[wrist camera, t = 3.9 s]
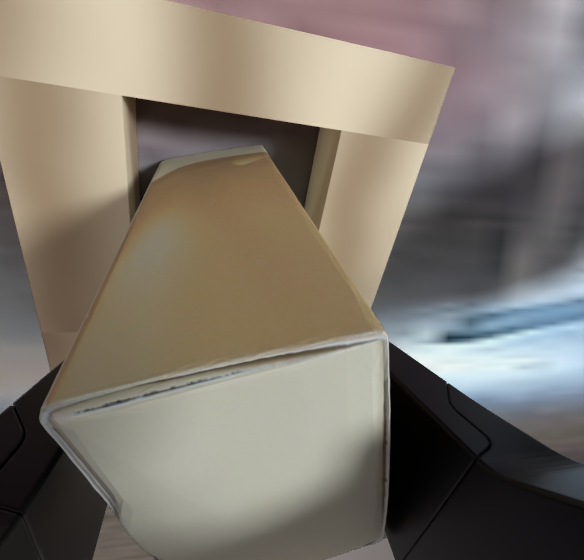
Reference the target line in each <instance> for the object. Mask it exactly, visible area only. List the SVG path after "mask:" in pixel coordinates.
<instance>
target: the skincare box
mask: <svg viewBox="0 0 584 560" xmlns="http://www.w3.org/2000/svg"><path fill="white" fill-rule="evenodd" d="M39 420H40V423H41V424H42V426H43V427H44V428H45V430H46V431H47V432H48V433H49V434H50V435H51V436H52V437H53V438H54V440H55V441H56V442H57V443H58V444H59V445H60V446H61V448H62V449H63V450H64V451H65V452H66V454H67V455H68V457H69V458H70V459H71V461H72V462H73V463H74V464H75V465H76V466H77V467H78V469H79V470H80V471H81V472H82V473H83V474H84V476H85V477H86V478H87V479H88V481H89V482H90V483H91V485H92V486H93V488H94V489H95V490H96V491H97V492H98V493H99V494H100V495H101V496H102V497H103V499H104V500H105V501H106V502H107V504H108V505H109V506H110V508H111V509H112V511H113V512H114V513H115V515H116V516H117V518H118V519H119V521H120V522H121V524H122V525H123V527H124V529H125V530H126V532H127V533H128V534H129V536H130V537H131V538H132V539H133V541H134V542H135V543H137V544H138V545H139V546H140V547H141V548H142V549H143V550H144V551H146V552H147V553H148V554H150V555H151V556H152V558H153V559H154V560H325V559H328V558H332V557H335V556H337V555H341V554H344V553H347V552H349V551H352V550H356V549H359V548H361V547H364V546H368V545H372V544H376V543H378V542H380V541H382V539H383V537H384V529H385V525H386V516H387V506H388V496H389V470H390V375H389V337H388V334H387V332H386V331H385V330H384V328H383V327H382V325H381V324H380V322H379V321H378V319H377V318H376V316H375V314H374V313H373V311H372V310H371V308H370V307H369V305H368V304H367V303H366V301H365V300H364V298H363V297H362V295H361V294H360V293H359V291H358V290H357V288H356V287H355V285H354V283H353V282H352V280H351V279H350V277H349V276H348V274H347V273H346V271H345V270H344V268H343V267H342V265H341V264H340V262H339V261H338V259H337V258H336V256H335V254H334V253H333V251H332V250H331V248H330V247H329V245H328V244H327V243H326V241H325V239H324V238H323V236H322V235H321V233H320V232H319V231H318V229H317V228H316V226H315V224H314V223H313V221H312V220H311V218H310V217H309V216H308V214H307V213H306V211H305V210H304V208H303V207H302V205H301V204H300V202H299V201H298V199H297V198H296V196H295V194H294V193H293V191H292V190H291V188H290V187H289V185H288V184H287V182H286V181H285V179H284V178H283V176H282V175H281V173H280V172H279V170H278V169H277V167H276V166H275V164H274V163H273V161H272V160H271V158H270V157H269V155H268V153H267V151H266V150H265V149H264V147H263V146H262V145H253V146H246V147H238V148H231V149H225V150H218V151H212V152H206V153H200V154H194V155H188V156H183V157H177V158H172V159H167V160H163V161H162V162H160V164H159V166H158V168H157V170H156V172H155V174H154V176H153V178H152V180H151V183H150V185H149V186H148V189H147V191H146V193H145V195H144V197H143V199H142V201H141V203H140V205H139V207H138V209H137V211H136V213H135V215H134V217H133V219H132V221H131V223H130V226H129V228H128V230H127V232H126V234H125V236H124V238H123V240H122V242H121V244H120V246H119V248H118V250H117V252H116V254H115V257H114V259H113V261H112V263H111V265H110V267H109V269H108V271H107V273H106V275H105V277H104V280H103V282H102V284H101V286H100V288H99V290H98V292H97V294H96V296H95V298H94V300H93V302H92V304H91V307H90V309H89V311H88V313H87V315H86V317H85V319H84V321H83V322H82V324H81V326H80V329H79V331H78V333H77V335H76V337H75V339H74V341H73V343H72V346H71V348H70V350H69V352H68V354H67V356H66V358H65V360H64V362H63V364H62V366H61V368H60V370H59V372H58V374H57V376H56V378H55V380H54V382H53V384H52V387H51V389H50V391H49V393H48V395H47V397H46V399H45V401H44V403H43V405H42V407H41V410H40V415H39Z"/></svg>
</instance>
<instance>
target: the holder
mask: <svg viewBox="0 0 584 560" xmlns="http://www.w3.org/2000/svg"><path fill="white" fill-rule="evenodd" d="M454 69H455V67H451V66H447V65H443V64H439V63H434V62H430V61H426V60H421V59H417V58H413V57H408V56H404V55H400V54H395V53H391V52H387V51H382V50H378V49H374V48H370V47H365V46H361V45H357V44H352V43H348V42H344V41H339V40H335V39H331V38H326V37H322V36H318V35H314V34H309V33H305V32H301V31H296V30H292V29H288V28H283V27H279V26H275V25H270V24H266V23H262V22H257V21H253V20H249V19H245V18H240V17H236V16H232V15H227V14H223V13H219V12H214V11H210V10H206V9H201V8H197V7H193V6H189V5H184V4H180V3H176V2H171V1H167V0H0V162H1V166H2V170H3V174H4V178H5V183H6V187H7V191H8V195H9V199H10V203H11V208H12V212H13V216H14V220H15V224H16V228H17V233H18V237H19V241H20V245H21V249H22V253H23V258H24V262H25V266H26V270H27V274H28V278H29V283H30V287H31V291H32V295H33V299H34V303H35V308H36V312H37V316H38V320H39V324H40V328H41V332H42V337H43V341H44V345H45V349H46V353H47V357H48V362H49V366H50V370H51V371H52V370H53V369H54V368H55V367H56V366H58V365H59V364H60V363H61V362H62V361H63V360H65V358H66V356H67V354H68V352H69V350H70V348H71V346H72V343H73V341H74V339H75V337H76V335H77V333H78V331H79V329H80V326H81V324H82V322H83V321H84V319H85V317H86V315H87V313H88V311H89V309H90V307H91V304H92V302H93V300H94V298H95V296H96V294H97V292H98V290H99V288H100V286H101V284H102V282H103V280H104V277H105V275H106V273H107V271H108V269H109V267H110V265H111V263H112V261H113V259H114V257H115V254H116V252H117V250H118V248H119V246H120V244H121V242H122V240H123V238H124V236H125V234H126V232H127V230H128V228H129V226H130V223H131V221H132V219H133V217H134V215H135V213H136V211H137V209H138V207H139V205H140V185H139V164H138V143H137V122H136V101H135V98H141V99H147V100H153V101H159V102H166V103H172V104H178V105H185V106H191V107H197V108H203V109H210V110H216V111H222V112H229V113H235V114H241V115H247V116H254V117H260V118H266V119H273V120H279V121H285V122H291V123H298V124H304V125H310V126H317V127H320V130H319V135H318V140H317V146H316V151H315V156H314V161H313V166H312V171H311V176H310V181H309V186H308V191H307V196H306V201H305V207H304V210H305V211H306V213H307V214H308V216H309V217H310V218H311V220H312V221H313V223H314V224H315V226H316V228H317V229H318V231H319V232H320V233H321V235H322V236H323V238H324V239H325V241H326V243H327V244H328V245H329V247H330V248H331V250H332V251H333V253H334V254H335V256H336V258H337V259H338V261H339V262H340V264H341V265H342V267H343V268H344V270H345V271H346V273H347V274H348V276H349V277H350V279H351V280H352V282H353V283H354V285H355V287H356V288H357V290H358V291H359V293H360V294H361V295H362V297H363V298H364V300H365V301H366V303H367V304H368V305H369V307H370V308H371V307H372V304H373V302H374V299H375V296H376V293H377V290H378V287H379V284H380V281H381V279H382V276H383V273H384V270H385V267H386V264H387V261H388V259H389V256H390V253H391V250H392V247H393V244H394V241H395V238H396V236H397V233H398V230H399V227H400V224H401V221H402V218H403V216H404V213H405V210H406V207H407V204H408V201H409V198H410V196H411V193H412V190H413V187H414V184H415V181H416V178H417V175H418V173H419V170H420V167H421V164H422V161H423V158H424V155H425V153H426V150H427V147H428V144H429V141H430V138H431V135H432V132H433V130H434V127H435V124H436V121H437V118H438V115H439V112H440V110H441V107H442V104H443V101H444V98H445V95H446V92H447V90H448V87H449V84H450V81H451V78H452V75H453V72H454Z"/></svg>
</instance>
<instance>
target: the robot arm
mask: <svg viewBox="0 0 584 560" xmlns="http://www.w3.org/2000/svg"><path fill="white" fill-rule="evenodd" d="M63 362H64V360H63V361H62V362H61V363H60V364H59V365H58V366H56V367H55V368H54V369H53V370H52V371H51V372H49V373H48V374H47V375H46V376H45V377H44V378H42V379H41V380H40V381H39V382H38V383H36V384H35V385H34V386H33V387H32V388H31V389H29V390H28V391H27V392H26V393H25V394H24V395H22V396H21V397H20V398H19V399H18V400H17V401H15V402H14V403H13V406H9V407H8V408H7V409H6V410H5V411H3V412H2V413H1V414H0V560H92V559H93V555H94V551H95V547H96V544H97V540H98V536H99V532H100V529H101V525H102V521H103V518H104V514H105V510H106V506H107V502H106V501H105V500H104V499H103V497H102V496H101V495H100V494H99V493H98V492H97V491H96V490H95V489H94V488H93V486H92V485H91V483H90V482H89V481H88V479H87V478H86V477H85V476H84V474H83V473H82V472H81V471H80V470H79V469H78V467H77V466H76V465H75V464H74V463H73V462H72V461H71V459H70V458H69V457H68V455H67V454H66V452H65V451H64V450H63V449H62V448H61V446H60V445H59V444H58V443H57V442H56V441H55V440H54V438H53V437H52V436H51V435H50V434H49V433H48V432H47V431H46V430H45V428H44V427H43V426H42V424H41V423H40V420H39V415H40V410H41V407H42V405H43V403H44V401H45V399H46V397H47V395H48V393H49V391H50V389H51V387H52V384H53V382H54V380H55V378H56V376H57V374H58V372H59V370H60V368H61V366H62V364H63ZM389 375H390V470H389V496H388V506H387V516H386V525H385V532H386V535H387V538H388V541H389V543H390V546H391V549H392V552H393V555H394V558H395V560H584V464H583V463H580V462H577V461H575V460H572V459H570V458H567V457H565V456H563V455H561V454H559V453H558V452H556V451H554V450H552V449H551V448H549V447H547V446H546V445H544V444H543V443H541V442H539V441H538V440H536V439H534V438H533V437H531V436H529V435H528V434H526V433H525V432H523V431H521V430H520V429H518V428H516V427H515V426H513V425H512V424H510V423H508V422H507V421H505V420H503V419H502V418H500V417H499V416H497V415H495V414H494V413H492V412H491V411H489V410H487V409H486V408H484V407H483V406H481V405H480V404H478V403H477V402H475V401H474V400H472V399H471V398H469V397H468V396H466V395H465V394H463V393H462V392H460V391H459V390H458V389H456V388H455V387H453V386H452V385H450V384H447V382H446V381H445V380H443V379H442V378H440V377H439V376H437V375H436V374H435V373H433V372H432V371H430V370H429V369H427V368H426V367H425V366H423V365H422V364H420V363H419V362H417V361H416V360H415V359H413V358H412V357H410V356H409V355H407V354H406V353H405V352H403V351H402V350H400V349H399V348H397V347H396V346H395V345H393V344H392V343H390V342H389Z"/></svg>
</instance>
